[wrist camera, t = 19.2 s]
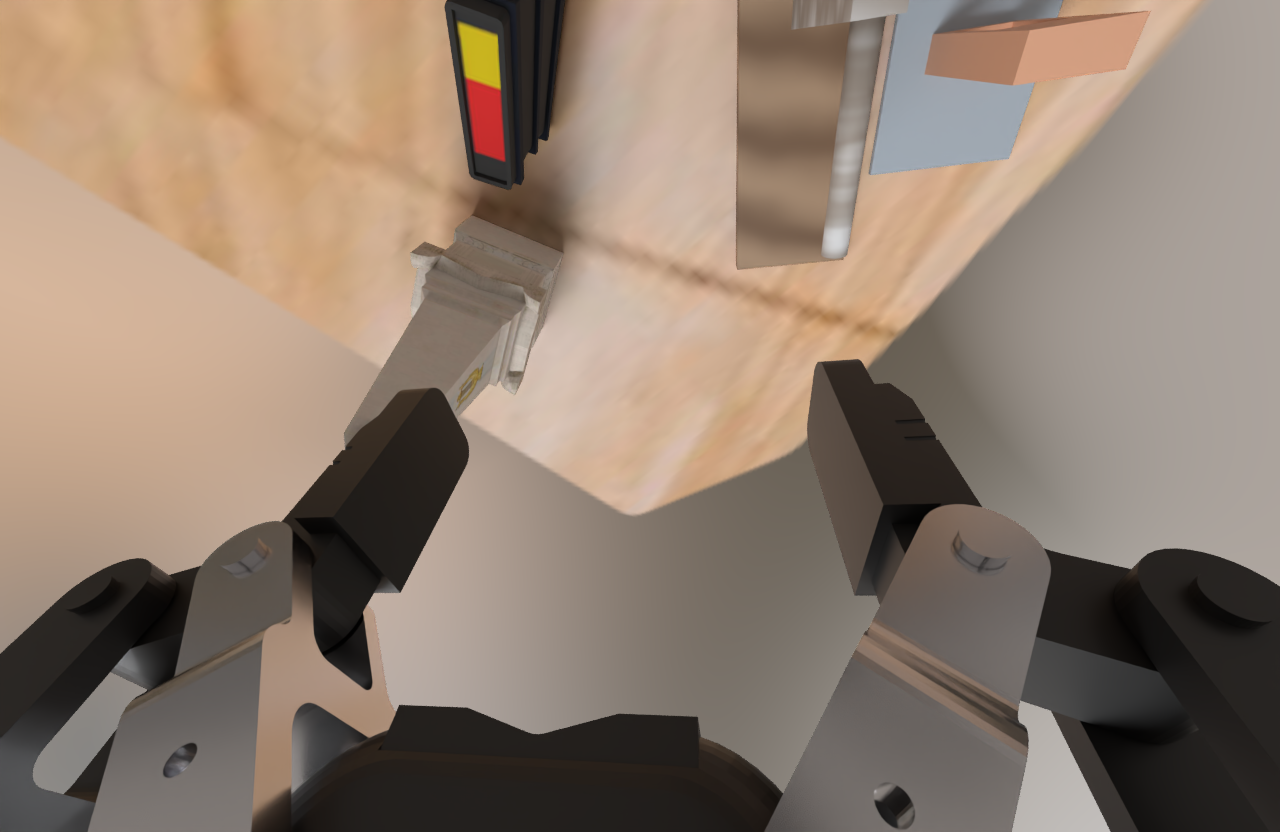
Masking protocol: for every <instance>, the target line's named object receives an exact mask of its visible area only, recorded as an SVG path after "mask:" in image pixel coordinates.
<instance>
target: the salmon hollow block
mask: <svg viewBox="0 0 1280 832" xmlns="http://www.w3.org/2000/svg"><path fill="white" fill-rule="evenodd" d="M1150 12H1151V11H1142V12H1128V13H1114V14H1100V15H1086V16H1072V17H1058V18H1044V19H1030V20H1016V21H1010V22H1004V23H998V24H992V25H986V26H980V27H974V28H968V29H961V30H955V31H949V32H943V33H937V34H933V35H932V40H931V45H930V50H929V54H928V59H927V64H926V69H925V74H924V75H932V76H940V77H948V78H956V79H964V80H972V81H980V82H988V83H996V84H1003V85H1011V86H1014V85H1021V84H1028V83H1034V82H1041V81H1048V80H1055V79H1062V78H1069V77H1075V76H1082V75H1089V74H1096V73H1103V72H1110V71H1116V70H1123V69H1126V67H1127V65H1128V63H1129V60H1130V58H1131V56H1132V53H1133V51H1134V49H1135V46H1136V44H1137V42H1138V39H1139V37H1140V35H1141V32H1142V30H1143V28H1144V25H1145V23H1146V21H1147V19H1148V16H1149V14H1150Z"/></svg>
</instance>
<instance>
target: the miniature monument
mask: <svg viewBox="0 0 1280 832" xmlns="http://www.w3.org/2000/svg"><path fill="white" fill-rule="evenodd" d="M562 256H563V253H562V252H560V251H558V250H555V249H553V248H550V247H548V246H545V245H543V244H541V243H538V242H536V241H533V240H531V239H528V238H526V237H524V236H521V235H519V234H516V233H514V232H511V231H509V230H507V229H504V228H502V227H499V226H497V225H494V224H492V223H490V222H487V221H485V220H482V219H480V218H477V217H475V216H473V215H471V216H470V217H469V218H468V219H467V220H465V221H464V222H463V223H462V224H460V225H459V226H458V227H457V228H455V233H454V241H453V244H452V245H451V246H450V247H449V248H447V249H446V250H444V249H442V248H439V247H437V246H434V245H432V244H429V243H427V242H424V243H423V244H421V245H420V246H419V247H417V248H416V249H415V250H413V251H412V252H411V263H412V266H413V267H414V268H417V273H416V279H415V284H414V290H413V296H412V301H411V316H412V320H411V322H410V323H409V325H408V327H407V328H406V330H405V332H404V333H403V335H402V337H401V338H400V340H399V342H398V343H397V345H396V347H395V348H394V350H393V352H392V353H391V355H390V357H389V358H388V360H387V362H386V364H385V365H384V367H383V369H382V370H381V372H380V374H379V375H378V377H377V379H376V381H375V382H374V384H373V385H372V387H371V389H370V390H369V392H368V394H367V395H366V397H365V399H364V400H363V402H362V404H361V406H360V407H359V409H358V410H357V412H356V414H355V415H354V417H353V419H352V420H351V422H350V424H349V425H348V427H347V429H346V430H345V432H344V441H345V446H346V445H347V444H348V443H349V442H350V440H351V439H352V438H353V437H354V436H355V434H356V433H357V432H358V431H359V430H360V429H361V428H362V427H364V426H365V425H366V424H368V423H369V422H370V421H372V420H373V419H374V418H376V417H377V416H378V415H379V414H380V413H381V412H382V411H383V409H384V408H385V407H386V406H387V405H388V403H389V402H390V401H391V400H392V399H393V397H394V396H395V395H396V394H397V393H398V392H399V391H401V390H406V389H421V388H438V389H440V390H441V391H442V392H443V393H444V395H445V397H446V399H447V401H448V403H449V405H450V407H451V409H452V411H453V413H454V415H455V417H456V419H457V418H458V417H459V416H460V414H461V413H462V412H463V411H464V410H465V409H466V408H467V407H468V406H469V405H470V404H471V403H472V401H473V400H474V399H475V398H476V397H477V396H478V395H479V394H480V393H481V392H482V391H483V390H484V388H485V387H486V386H487V385H488V384H491V385H494V386H496V385H497V383H498V382H499V381H501V384H502V386H503V387H504V389H505V390H507V391H508V392H510V393H512V394H514V395H515V394H516V392H517V390H518V388H519V386H520V384H521V382H522V379H523V376H524V372H525V369H526V365H527V361H528V358H529V354H530V350H531V347H533V345H534V343H535V341H536V339H537V337H538V335H539V333H540V331H541V329H542V326H543V323H544V319H545V316H546V312H547V309H548V305H549V302H550V298H551V295H552V291H553V288H554V284H555V281H556V277H557V274H558V270H559V267H560V263H561V260H562ZM345 449H346V448H345Z"/></svg>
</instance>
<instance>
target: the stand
mask: <svg viewBox="0 0 1280 832" xmlns="http://www.w3.org/2000/svg"><path fill="white" fill-rule="evenodd" d="M908 4H909V0H738V27H737V181H736V266H737V270H740V269H750V268H761V267H772V266H782V265H793V264H804V263H814V262H825V261H835V260H843V258H844V257H845V256H846V255H847V252H848V246H849V240H850V234H851V227H852V221H853V215H854V209H855V203H856V197H857V190H858V184H859V178H860V172H861V166H862V159H863V153H864V147H865V141H866V135H867V129H868V122H869V116H870V110H871V104H872V98H873V92H874V85H875V79H876V73H877V67H878V61H879V54H880V48H881V42H882V36H883V30H884V24H885V17H886V16H889V15H895V14H901V13H907V10H908Z"/></svg>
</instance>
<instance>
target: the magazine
mask: <svg viewBox="0 0 1280 832" xmlns="http://www.w3.org/2000/svg"><path fill="white" fill-rule="evenodd" d="M564 5H565V0H447V1H446V4H445V12H446V19H447V26H448V32H449V39H450V46H451V52H452V59H453V66H454V73H455V79H456V86H457V93H458V100H459V106H460V113H461V120H462V127H463V133H464V140H465V147H466V154H467V160H468V167H469V174H470V176H471V177H472V178H474V179H476V180H479V181H482V182H485V183H488V184H491V185H495V186H498V187H501V188H504V189H507V190H509V189H511V188H512V185H513V183H516V184H519V185H521V184H522V182H523V180H524V159H525V157H526V155H527V153H528V152H529V153H532V154H536V153H537V152H538V138H539V139H542V140H545V141H547V140H548V137H549V128H550V119H551V110H552V101H553V92H554V84H555V76H556V68H557V60H558V52H559V45H560V37H561V29H562V21H563V13H564Z"/></svg>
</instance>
